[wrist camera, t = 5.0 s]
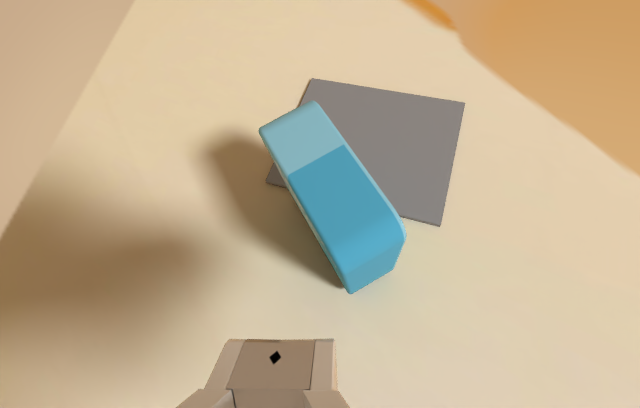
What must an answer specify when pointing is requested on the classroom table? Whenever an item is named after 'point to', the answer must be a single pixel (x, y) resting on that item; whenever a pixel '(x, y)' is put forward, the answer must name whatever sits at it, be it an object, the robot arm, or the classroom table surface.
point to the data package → (335, 195)
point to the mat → (394, 142)
